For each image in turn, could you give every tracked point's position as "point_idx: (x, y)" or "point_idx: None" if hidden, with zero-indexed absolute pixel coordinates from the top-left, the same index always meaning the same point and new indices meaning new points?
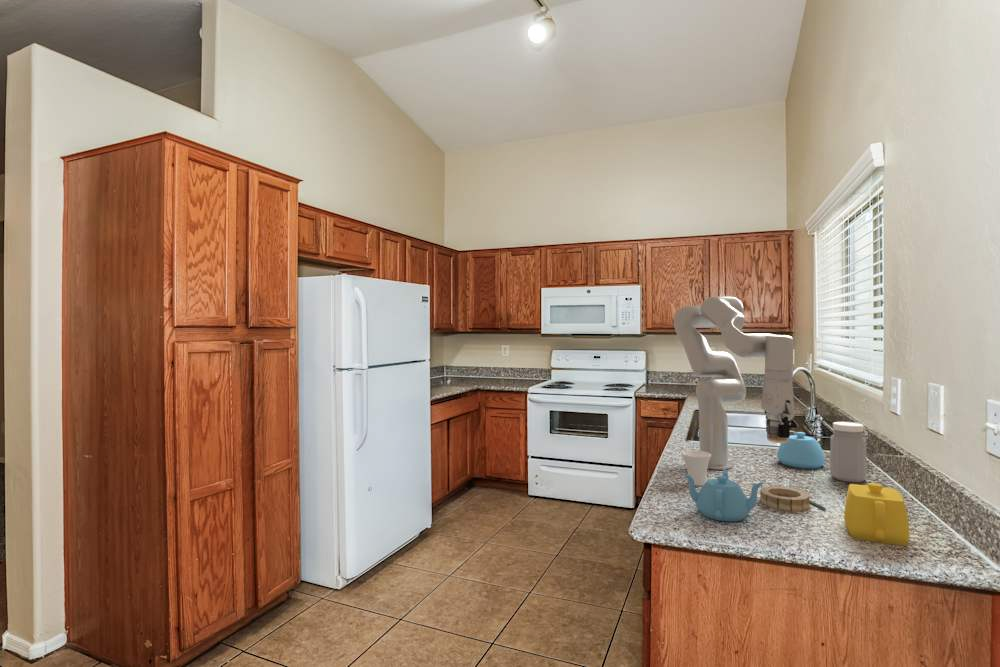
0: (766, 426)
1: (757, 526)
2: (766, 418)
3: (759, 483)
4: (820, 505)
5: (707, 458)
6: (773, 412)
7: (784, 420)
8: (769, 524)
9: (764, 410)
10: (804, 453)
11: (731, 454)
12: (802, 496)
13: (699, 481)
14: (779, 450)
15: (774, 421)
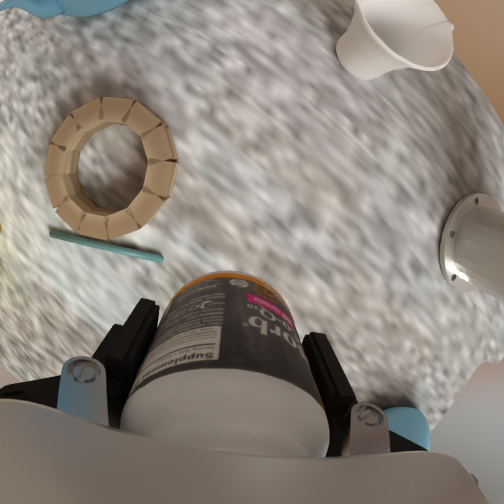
0: (334, 356)
1: (36, 18)
2: (372, 410)
3: (6, 5)
4: (63, 238)
5: (358, 17)
6: (96, 435)
7: (41, 393)
8: (31, 44)
9: (397, 452)
10: None
11: (491, 344)
12: (62, 196)
13: (341, 37)
14: (420, 422)
15: (161, 369)
